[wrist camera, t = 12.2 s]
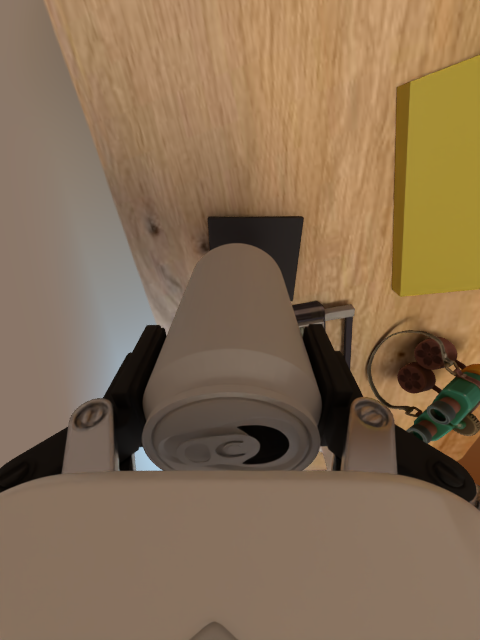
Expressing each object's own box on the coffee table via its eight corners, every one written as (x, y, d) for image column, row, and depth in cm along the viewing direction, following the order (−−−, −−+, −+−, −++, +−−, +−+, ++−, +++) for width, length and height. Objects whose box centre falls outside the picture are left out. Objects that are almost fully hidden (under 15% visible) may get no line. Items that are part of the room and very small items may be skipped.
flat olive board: (397, 87, 23) (391, 303, 36) (410, 81, 21) (399, 311, 34) (552, 26, 21) (487, 279, 34) (582, 14, 19) (501, 287, 32)
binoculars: (379, 369, 48) (466, 436, 38) (329, 394, 41) (420, 484, 31) (418, 307, 40) (542, 371, 30) (365, 325, 33) (503, 416, 23)
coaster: (214, 298, 35) (213, 301, 35) (208, 216, 29) (207, 218, 29) (291, 298, 35) (292, 301, 35) (302, 216, 29) (303, 217, 28)
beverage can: (281, 318, 19) (323, 494, 10) (199, 323, 20) (158, 499, 10) (282, 235, 16) (353, 379, 6) (183, 243, 16) (91, 392, 6)
